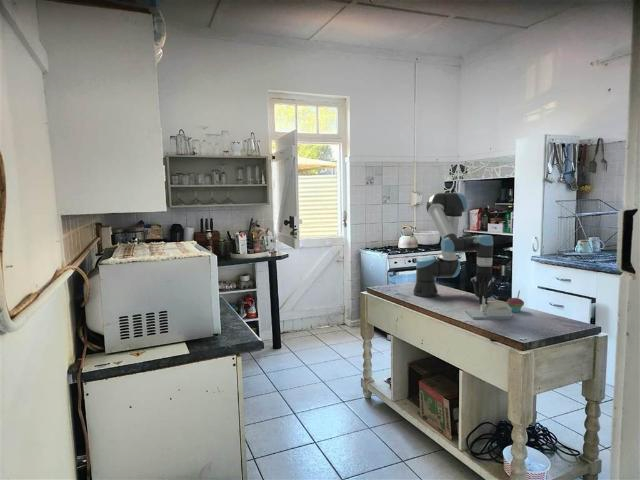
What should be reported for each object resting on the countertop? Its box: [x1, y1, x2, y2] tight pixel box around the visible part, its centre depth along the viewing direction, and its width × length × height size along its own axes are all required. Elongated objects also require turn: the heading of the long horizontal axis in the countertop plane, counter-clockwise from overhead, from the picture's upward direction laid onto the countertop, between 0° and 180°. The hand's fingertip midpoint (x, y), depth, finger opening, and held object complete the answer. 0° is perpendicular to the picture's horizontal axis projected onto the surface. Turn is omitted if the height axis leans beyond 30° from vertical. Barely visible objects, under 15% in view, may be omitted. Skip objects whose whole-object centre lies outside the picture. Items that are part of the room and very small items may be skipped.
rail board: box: [464, 305, 515, 321], centre depth 216 cm, size 14×20×5 cm
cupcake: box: [506, 289, 525, 313], centre depth 223 cm, size 9×8×12 cm
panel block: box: [485, 300, 508, 313], centre depth 215 cm, size 5×9×6 cm, turn 87°
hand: (482, 310), depth 215 cm, fingers closed
